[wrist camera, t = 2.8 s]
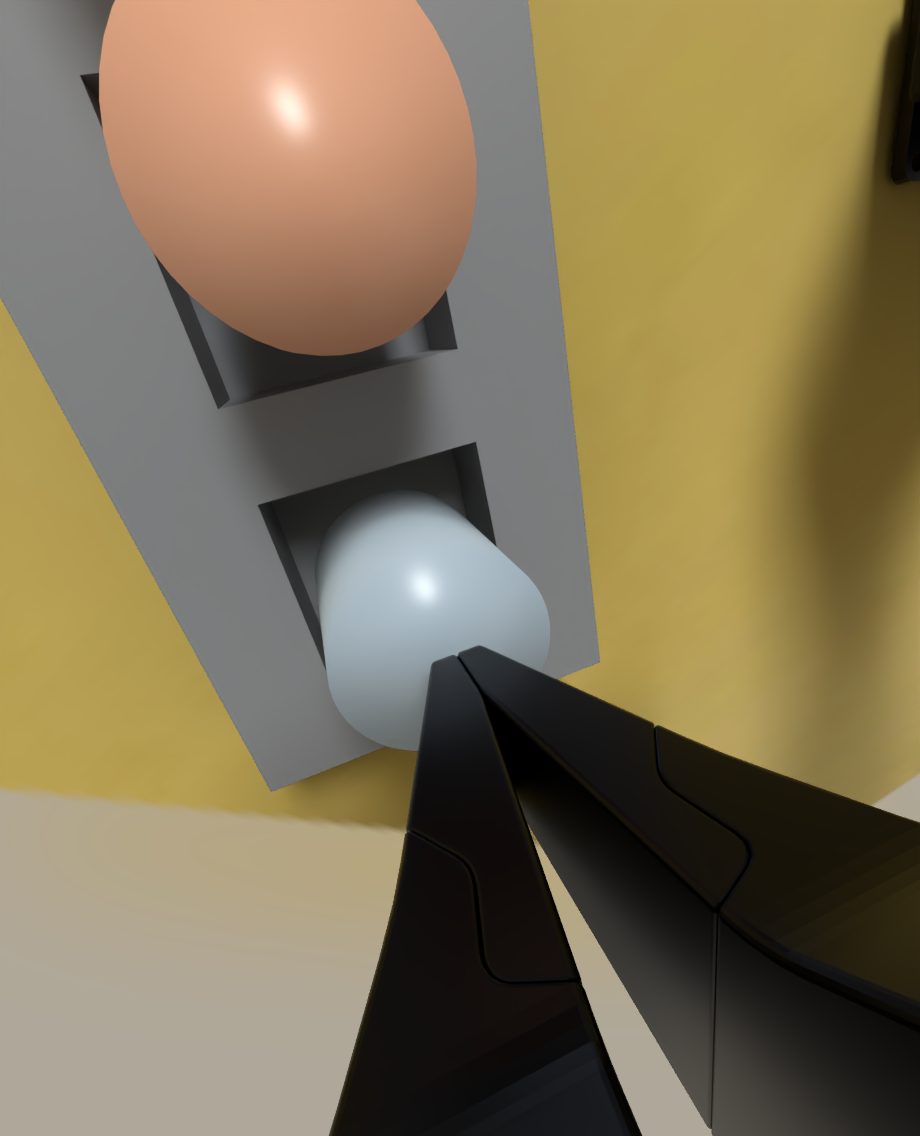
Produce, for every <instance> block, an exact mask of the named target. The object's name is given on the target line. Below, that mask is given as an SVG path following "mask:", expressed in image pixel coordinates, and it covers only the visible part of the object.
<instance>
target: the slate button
mask: <svg viewBox="0 0 920 1136" xmlns="http://www.w3.org/2000/svg"><path fill="white" fill-rule="evenodd" d="M315 581H316V589H317V597H318V605H319V614H320V622H321V630H322V638H323V646H324V655H325V663H326V671H327V678H328V685H329V689H330V692H331V695H332V698H333V701H334V703H335V704H336V706H337V708H338V710H339V712H340V713H341V714H342V716H343V717H344V718H345V720H346V721H347V722H348V723H349V724H350V725H351V726H352V727H353V728H354V729H355V730H357V731H358V732H359V733H361V734H362V735H364V736H365V737H367V738H369V739H371V740H373V741H375V742H376V743H379V744H382V745H385V746H388V747H391V748H396V749H401V750H410V751H418V748H419V741H420V735H421V728H422V721H423V715H424V708H425V702H426V695H427V689H428V682H429V675H430V669H431V664H432V663H433V662H434V661H436V660H439V659H442V658H445V657H447V656H450V655H456V656H457V655H458V653H459V652H461V651H464V650H466V649H469V648H472V647H474V646H477V645H481V646H484V647H486V648H488V649H491V650H493V651H495V652H497V653H500V654H502V655H504V656H506V657H508V658H511V659H513V660H515V661H517V662H519V663H522V664H524V665H526V666H528V667H531V668H533V669H535V670H537V671H539V672H542V670H543V668H544V665H545V662H546V659H547V656H548V650H549V645H550V621H549V616H548V611H547V607H546V605H545V602H544V600H543V597H542V595H541V594H540V592H539V590H538V589H537V587H536V585H535V584H534V583H533V582H532V581H531V579H530V578H529V577H528V576H527V575H526V574H525V573H524V572H523V571H522V570H521V569H519V568H518V567H517V566H516V565H515V564H514V563H513V562H512V561H511V560H510V559H509V558H508V557H507V556H506V555H504V554H503V553H502V552H501V551H500V550H499V549H498V548H497V547H496V546H495V545H494V544H493V543H492V542H491V541H489V540H488V539H487V538H486V537H485V536H484V535H483V534H482V533H481V532H480V531H479V530H478V529H477V528H476V527H474V526H473V525H472V524H471V523H470V522H469V521H468V520H467V519H466V518H465V517H464V516H463V515H462V514H461V513H459V512H458V511H457V510H456V509H455V508H454V507H453V506H452V505H450V504H449V503H447V502H446V501H444V500H442V499H440V498H438V497H436V496H434V495H431V494H428V493H425V492H421V491H415V490H391V491H385V492H381V493H377V494H374V495H372V496H369V497H366V498H364V499H362V500H361V501H359V502H357V503H355V504H354V505H352V506H351V507H349V508H348V509H347V510H345V511H344V512H343V513H342V514H341V515H340V516H339V517H338V518H337V519H336V520H335V521H334V523H333V524H332V525H331V526H330V528H329V529H328V531H327V532H326V534H325V536H324V538H323V540H322V542H321V544H320V547H319V550H318V554H317V557H316V564H315Z"/></svg>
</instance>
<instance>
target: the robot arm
mask: <svg viewBox="0 0 920 1136" xmlns="http://www.w3.org/2000/svg"><path fill="white" fill-rule="evenodd" d="M891 176H892V179H893V182H894V183H895V184H896V185H906V184H910V183H914V182H919V181H920V0H914V8H913V15H912V22H911V29H910V37H909V44H908V51H907V59H906V66H905V73H904V81H903V88H902V95H901V102H900V110H899V117H898V124H897V132H896V139H895V146H894V154H893V161H892V168H891ZM526 821H527V822H526ZM527 823H528V825H529V827H530V828H531V830H532V832H533V833H534V835H535V837H536V838H537V840H538V842H539V843H540V845H541V847H542V848H543V850H544V852H545V854H546V855H547V857H548V858H549V860H550V862H551V864H552V865H553V867H554V869H555V870H556V872H557V874H558V875H559V877H560V879H561V880H562V882H563V884H564V886H565V887H566V889H567V891H568V892H569V894H570V896H571V897H572V899H573V901H574V902H575V904H576V906H577V907H578V909H579V911H580V913H581V914H582V916H583V918H584V919H585V921H586V923H587V924H588V926H589V928H590V929H591V931H592V933H593V934H594V936H595V938H596V939H597V941H598V943H599V945H600V946H601V948H602V949H603V951H604V953H605V954H606V956H607V958H608V960H609V961H610V963H611V965H612V967H613V968H614V970H615V972H616V973H617V975H618V977H619V978H620V980H621V982H622V983H623V985H624V987H625V988H626V990H627V992H628V993H629V995H630V997H631V999H632V1000H633V1002H634V1003H635V1005H636V1007H637V1009H638V1010H639V1012H640V1014H641V1015H642V1017H643V1019H644V1020H645V1022H646V1024H647V1025H648V1027H649V1029H650V1031H651V1032H652V1034H653V1036H654V1037H655V1039H656V1041H657V1042H658V1044H659V1046H660V1047H661V1049H662V1051H663V1053H664V1054H665V1056H666V1058H667V1059H668V1061H669V1063H670V1064H671V1066H672V1068H673V1069H674V1071H675V1073H676V1074H677V1076H678V1078H679V1080H680V1081H681V1083H682V1085H683V1086H684V1088H685V1090H686V1091H687V1093H688V1094H689V1096H690V1098H691V1100H692V1101H693V1103H694V1105H695V1107H696V1108H697V1110H698V1112H699V1113H700V1115H701V1117H702V1118H703V1120H704V1122H705V1123H706V1125H707V1126H708V1128H710V1129H712V1135H713V1136H920V822H917V821H914V820H911V819H908V818H905V817H901V816H898V815H895V814H893V813H890V812H887V811H884V810H881V809H878V808H875V807H873V806H870V805H867V804H864V803H861V802H858V801H855V800H853V799H850V798H847V797H844V796H841V795H838V794H836V793H833V792H830V791H827V790H824V789H821V788H818V787H816V786H813V785H810V784H807V783H804V782H801V781H798V780H796V779H793V778H790V777H787V776H784V775H781V774H778V773H776V772H773V771H770V770H767V769H765V768H762V767H759V766H757V765H754V764H751V763H749V762H746V761H743V760H741V759H738V758H735V757H732V756H730V755H727V754H724V753H722V752H720V751H717V750H715V749H713V748H710V747H708V746H705V745H703V744H701V743H698V742H696V741H694V740H691V739H689V738H686V737H684V736H682V735H680V734H677V733H675V732H673V731H671V730H669V729H666V728H664V727H662V726H660V725H657V726H655V727H654V724H653V723H652V722H650V721H648V720H646V719H644V718H641V717H639V716H637V715H635V714H633V713H630V712H628V711H626V710H624V709H621V708H619V707H617V706H615V705H613V704H610V703H608V702H606V701H604V700H602V699H599V698H597V697H595V696H593V695H590V694H588V693H586V692H584V691H582V690H579V689H577V688H575V687H573V686H570V685H568V684H566V683H564V682H562V681H559V680H557V679H555V678H553V677H551V676H548V675H546V674H544V673H542V672H539V671H537V670H535V669H533V668H531V667H528V666H526V665H524V664H522V663H519V662H517V661H515V660H513V659H511V658H508V657H506V656H504V655H502V654H500V653H497V652H495V651H493V650H491V649H488V648H486V647H484V646H481V645H477V646H474V647H472V648H469V649H466V650H464V651H461V652H459V653H458V655H457V656H456V655H450V656H447V657H445V658H442V659H439V660H436V661H434V662H433V663H432V664H431V669H430V675H429V682H428V689H427V695H426V702H425V708H424V715H423V721H422V728H421V735H420V741H419V748H418V754H417V761H416V767H415V774H414V781H413V787H412V794H411V800H410V807H409V813H408V820H407V827H406V830H407V833H406V834H405V838H404V845H403V851H402V857H401V863H400V869H399V874H398V879H397V885H396V890H395V895H394V901H393V905H392V910H391V913H390V917H389V922H388V926H387V930H386V933H385V937H384V942H383V946H382V949H381V953H380V957H379V961H378V964H377V969H376V971H375V975H374V979H373V982H372V986H371V989H370V993H369V996H368V1000H367V1004H366V1007H365V1011H364V1014H363V1018H362V1021H361V1025H360V1028H359V1032H358V1036H357V1039H356V1043H355V1046H354V1050H353V1053H352V1057H351V1061H350V1064H349V1068H348V1071H347V1075H346V1079H345V1082H344V1086H343V1089H342V1093H341V1096H340V1100H339V1103H338V1107H337V1111H336V1114H335V1117H334V1120H333V1124H332V1127H331V1130H330V1134H329V1136H642V1134H641V1132H640V1129H639V1127H638V1125H637V1122H636V1120H635V1118H634V1115H633V1113H632V1110H631V1108H630V1106H629V1103H628V1101H627V1099H626V1096H625V1094H624V1092H623V1089H622V1087H621V1084H620V1082H619V1080H618V1077H617V1075H616V1072H615V1070H614V1067H613V1065H612V1063H611V1060H610V1057H609V1055H608V1052H607V1049H606V1047H605V1044H604V1042H603V1039H602V1036H601V1034H600V1031H599V1028H598V1026H597V1023H596V1020H595V1017H594V1014H593V1012H592V1009H591V1006H590V1003H589V1000H588V998H587V995H586V992H585V990H584V988H583V986H582V982H581V977H580V975H579V972H578V969H577V966H576V963H575V960H574V957H573V954H572V952H571V949H570V946H569V943H568V940H567V937H566V934H565V931H564V928H563V925H562V923H561V920H560V917H559V914H558V911H557V908H556V905H555V902H554V900H553V897H552V894H551V891H550V888H549V885H548V882H547V880H546V876H545V874H544V871H543V868H542V865H541V862H540V859H539V856H538V853H537V850H536V848H535V845H534V842H533V839H532V836H531V833H530V830H529V827H528V825H527Z"/></svg>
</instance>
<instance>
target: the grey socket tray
mask: <svg viewBox="0 0 920 1136" xmlns="http://www.w3.org/2000/svg"><path fill="white" fill-rule="evenodd" d="M114 1H115V0H0V298H1V299H2V301H3V303H4V305H5V307H6V309H7V310H8V312H9V314H10V316H11V318H12V319H13V321H14V323H15V325H16V327H17V329H18V330H19V332H20V334H21V336H22V338H23V340H24V341H25V343H26V345H27V347H28V349H29V351H30V352H31V354H32V356H33V358H34V360H35V362H36V363H37V365H38V367H39V369H40V371H41V372H42V374H43V376H44V378H45V380H46V382H47V383H48V385H49V387H50V389H51V391H52V393H53V394H54V396H55V398H56V400H57V402H58V404H59V405H60V407H61V409H62V411H63V413H64V414H65V416H66V418H67V420H68V422H69V424H70V425H71V427H72V429H73V431H74V433H75V435H76V436H77V438H78V440H79V442H80V444H81V446H82V447H83V449H84V451H85V453H86V455H87V456H88V458H89V460H90V462H91V464H92V466H93V467H94V469H95V471H96V473H97V475H98V477H99V478H100V480H101V482H102V484H103V486H104V488H105V489H106V491H107V493H108V495H109V497H110V499H111V500H112V502H113V504H114V506H115V508H116V509H117V511H118V513H119V515H120V517H121V519H122V520H123V522H124V524H125V526H126V528H127V530H128V531H129V533H130V535H131V537H132V539H133V541H134V542H135V544H136V546H137V548H138V550H139V551H140V553H141V555H142V557H143V559H144V561H145V562H146V564H147V566H148V568H149V570H150V572H151V573H152V575H153V577H154V579H155V581H156V583H157V584H158V586H159V588H160V590H161V592H162V594H163V595H164V597H165V599H166V601H167V603H168V604H169V606H170V608H171V610H172V612H173V614H174V615H175V617H176V619H177V621H178V623H179V625H180V626H181V628H182V630H183V632H184V634H185V636H186V637H187V639H188V641H189V643H190V645H191V646H192V648H193V650H194V652H195V654H196V656H197V657H198V659H199V661H200V663H201V665H202V667H203V668H204V670H205V672H206V674H207V676H208V678H209V679H210V681H211V683H212V685H213V687H214V688H215V690H216V692H217V694H218V696H219V698H220V699H221V701H222V703H223V705H224V707H225V709H226V710H227V712H228V714H229V716H230V718H231V720H232V721H233V723H234V725H235V727H236V729H237V731H238V732H239V734H240V736H241V738H242V740H243V741H244V743H245V745H246V747H247V749H248V751H249V752H250V754H251V756H252V758H253V760H254V762H255V763H256V765H257V767H258V769H259V771H260V773H261V774H262V776H263V778H264V780H265V782H266V783H267V785H268V787H269V789H270V791H271V792H272V791H275V790H277V789H280V788H282V787H285V786H287V785H290V784H292V783H295V782H297V781H300V780H302V779H305V778H307V777H310V776H313V775H315V774H318V773H320V772H323V771H325V770H328V769H330V768H333V767H335V766H338V765H340V764H343V763H346V762H348V761H351V760H353V759H356V758H358V757H361V756H363V755H366V754H368V753H371V752H373V751H376V750H378V749H381V748H384V747H386V746H385V745H382V744H379V743H376V742H375V741H373V740H371V739H369V738H367V737H365V736H364V735H362V734H361V733H359V732H358V731H357V730H355V729H354V728H353V727H352V726H351V725H350V724H349V723H348V722H347V721H346V720H345V718H344V717H343V716H342V714H341V713H340V712H339V710H338V708H337V706H336V704H335V703H334V701H333V698H332V695H331V692H330V689H329V685H328V678H327V671H326V663H325V655H324V646H323V638H322V630H321V622H320V614H319V605H318V597H317V589H316V581H315V564H316V557H317V554H318V550H319V547H320V544H321V542H322V540H323V538H324V536H325V534H326V532H327V531H328V529H329V528H330V526H331V525H332V524H333V523H334V521H335V520H336V519H337V518H338V517H339V516H340V515H341V514H342V513H343V512H344V511H345V510H347V509H348V508H349V507H351V506H352V505H354V504H355V503H357V502H359V501H361V500H362V499H364V498H366V497H369V496H372V495H374V494H377V493H381V492H385V491H391V490H415V491H421V492H425V493H428V494H431V495H434V496H436V497H438V498H440V499H442V500H444V501H446V502H447V503H449V504H450V505H452V506H453V507H454V508H455V509H456V510H457V511H458V512H459V513H461V514H462V515H463V516H464V517H465V518H466V519H467V520H468V521H469V522H470V523H471V524H472V525H473V526H474V527H476V528H477V529H478V530H479V531H480V532H481V533H482V534H483V535H484V536H485V537H486V538H487V539H488V540H489V541H491V542H492V543H493V544H494V545H495V546H496V547H497V548H498V549H499V550H500V551H501V552H502V553H503V554H504V555H506V556H507V557H508V558H509V559H510V560H511V561H512V562H513V563H514V564H515V565H516V566H517V567H518V568H519V569H521V570H522V571H523V572H524V573H525V574H526V575H527V576H528V577H529V578H530V579H531V581H532V582H533V583H534V584H535V585H536V587H537V589H538V590H539V592H540V594H541V595H542V597H543V600H544V602H545V605H546V607H547V611H548V616H549V621H550V645H549V650H548V656H547V659H546V662H545V665H544V668H543V670H542V673H544V674H546V675H548V676H551V677H553V678H555V679H558V678H561V677H564V676H566V675H569V674H571V673H574V672H576V671H579V670H581V669H584V668H586V667H589V666H591V665H594V664H596V663H599V662H600V657H599V648H598V639H597V630H596V620H595V611H594V602H593V593H592V584H591V574H590V565H589V556H588V547H587V538H586V528H585V519H584V510H583V501H582V492H581V482H580V473H579V464H578V455H577V446H576V436H575V427H574V418H573V409H572V400H571V390H570V381H569V372H568V363H567V354H566V344H565V335H564V326H563V317H562V308H561V298H560V289H559V280H558V271H557V262H556V252H555V243H554V234H553V225H552V216H551V206H550V197H549V188H548V179H547V170H546V160H545V151H544V142H543V133H542V124H541V114H540V105H539V96H538V87H537V78H536V68H535V59H534V50H533V41H532V32H531V22H530V13H529V4H528V0H416V1H417V3H418V4H419V6H420V7H421V9H422V10H423V12H424V13H425V15H426V16H427V18H428V19H429V20H430V22H431V23H432V25H433V26H434V28H435V30H436V32H437V34H438V36H439V38H440V39H441V41H442V43H443V45H444V47H445V49H446V51H447V52H448V55H449V57H450V59H451V62H452V64H453V67H454V69H455V71H456V74H457V76H458V79H459V81H460V84H461V88H462V91H463V94H464V97H465V101H466V104H467V107H468V111H469V116H470V121H471V126H472V131H473V136H474V145H475V154H476V183H477V189H476V199H475V210H474V216H473V221H472V226H471V231H470V236H469V239H468V242H467V245H466V248H465V251H464V254H463V258H462V260H461V262H460V264H459V266H458V269H457V271H456V273H455V275H454V277H453V279H452V281H451V282H450V284H449V286H448V287H447V289H446V290H445V292H444V294H443V295H442V297H441V298H440V299H439V300H438V301H437V303H436V304H435V305H434V306H433V308H432V309H431V310H430V311H429V312H428V313H427V314H426V315H425V316H424V317H423V318H422V319H421V320H420V321H419V322H417V323H416V324H415V325H414V326H413V327H411V328H410V329H408V330H407V331H406V332H404V333H403V334H401V335H400V336H398V337H397V338H395V339H393V340H390V341H388V342H386V343H384V344H382V345H380V346H377V347H374V348H371V349H368V350H365V351H362V352H357V353H351V354H345V355H330V356H318V355H309V354H300V353H293V352H289V351H285V350H281V349H278V348H275V347H273V346H270V345H268V344H265V343H262V342H260V341H257V340H255V339H253V338H251V337H249V336H247V335H245V334H243V333H241V332H239V331H237V330H236V329H234V328H232V327H230V326H229V325H228V324H226V323H225V322H223V321H222V320H220V319H219V318H217V317H216V316H214V315H213V314H211V313H210V312H209V311H208V310H207V309H205V308H204V307H203V306H202V305H201V304H200V303H198V302H197V301H196V300H195V299H194V298H193V297H191V296H190V295H189V294H188V293H187V292H186V291H185V290H184V289H183V287H182V286H181V285H180V284H179V283H178V282H177V281H176V280H175V279H174V278H173V277H172V276H171V275H170V274H169V272H168V271H167V270H166V268H165V267H164V266H163V264H162V263H161V262H160V261H159V259H158V258H157V257H156V255H155V254H154V253H153V251H152V250H151V248H150V247H149V245H148V244H147V242H146V240H145V239H144V237H143V235H142V234H141V232H140V231H139V229H138V227H137V226H136V224H135V222H134V220H133V218H132V216H131V214H130V212H129V209H128V207H127V205H126V203H125V201H124V199H123V197H122V195H121V192H120V189H119V186H118V184H117V181H116V178H115V175H114V172H113V170H112V167H111V164H110V159H109V155H108V151H107V147H106V143H105V139H104V134H103V127H102V119H101V111H100V103H99V66H100V59H101V52H102V44H103V37H104V33H105V30H106V26H107V23H108V19H109V16H110V12H111V9H112V6H113V4H114Z"/></svg>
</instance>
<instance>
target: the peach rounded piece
mask: <svg viewBox="0 0 920 1136" xmlns="http://www.w3.org/2000/svg"><path fill="white" fill-rule="evenodd" d="M99 103H100V111H101V119H102V127H103V134H104V139H105V143H106V147H107V151H108V155H109V159H110V164H111V167H112V170H113V172H114V175H115V178H116V181H117V184H118V186H119V189H120V192H121V195H122V197H123V199H124V201H125V203H126V205H127V207H128V209H129V212H130V214H131V216H132V218H133V220H134V222H135V224H136V226H137V227H138V229H139V231H140V232H141V234H142V235H143V237H144V239H145V240H146V242H147V244H148V245H149V247H150V248H151V250H152V251H153V253H154V254H155V255H156V257H157V258H158V259H159V261H160V262H161V263H162V264H163V266H164V267H165V268H166V270H167V271H168V272H169V274H170V275H171V276H172V277H173V278H174V279H175V280H176V281H177V282H178V283H179V284H180V285H181V286H182V287H183V289H184V290H185V291H186V292H187V293H188V294H189V295H190V296H191V297H193V298H194V299H195V300H196V301H197V302H198V303H200V304H201V305H202V306H203V307H204V308H205V309H207V310H208V311H209V312H210V313H211V314H213V315H214V316H216V317H217V318H219V319H220V320H222V321H223V322H225V323H226V324H228V325H229V326H230V327H232V328H234V329H236V330H237V331H239V332H241V333H243V334H245V335H247V336H249V337H251V338H253V339H255V340H257V341H260V342H262V343H265V344H268V345H270V346H273V347H275V348H278V349H281V350H285V351H289V352H293V353H300V354H309V355H318V356H330V355H345V354H351V353H357V352H362V351H365V350H368V349H371V348H374V347H377V346H380V345H382V344H384V343H386V342H388V341H390V340H393V339H395V338H397V337H398V336H400V335H401V334H403V333H404V332H406V331H407V330H408V329H410V328H411V327H413V326H414V325H415V324H416V323H417V322H419V321H420V320H421V319H422V318H423V317H424V316H425V315H426V314H427V313H428V312H429V311H430V310H431V309H432V308H433V306H434V305H435V304H436V303H437V301H438V300H439V299H440V298H441V297H442V295H443V294H444V292H445V290H446V289H447V287H448V286H449V284H450V282H451V281H452V279H453V277H454V275H455V273H456V271H457V269H458V266H459V264H460V262H461V260H462V258H463V254H464V251H465V248H466V245H467V242H468V239H469V236H470V231H471V226H472V221H473V216H474V210H475V199H476V189H477V183H476V154H475V145H474V136H473V131H472V126H471V121H470V116H469V111H468V107H467V104H466V101H465V97H464V94H463V91H462V88H461V84H460V81H459V79H458V76H457V74H456V71H455V69H454V67H453V64H452V62H451V59H450V57H449V55H448V52H447V51H446V49H445V47H444V45H443V43H442V41H441V39H440V38H439V36H438V34H437V32H436V30H435V28H434V26H433V25H432V23H431V22H430V20H429V19H428V18H427V16H426V15H425V13H424V12H423V10H422V9H421V7H420V6H419V4H418V3H417V1H416V0H115V1H114V4H113V6H112V9H111V12H110V16H109V19H108V23H107V26H106V30H105V33H104V37H103V44H102V52H101V59H100V66H99Z"/></svg>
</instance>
